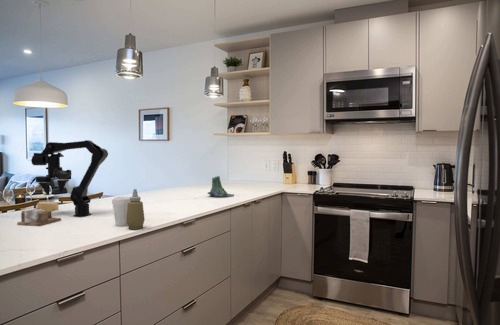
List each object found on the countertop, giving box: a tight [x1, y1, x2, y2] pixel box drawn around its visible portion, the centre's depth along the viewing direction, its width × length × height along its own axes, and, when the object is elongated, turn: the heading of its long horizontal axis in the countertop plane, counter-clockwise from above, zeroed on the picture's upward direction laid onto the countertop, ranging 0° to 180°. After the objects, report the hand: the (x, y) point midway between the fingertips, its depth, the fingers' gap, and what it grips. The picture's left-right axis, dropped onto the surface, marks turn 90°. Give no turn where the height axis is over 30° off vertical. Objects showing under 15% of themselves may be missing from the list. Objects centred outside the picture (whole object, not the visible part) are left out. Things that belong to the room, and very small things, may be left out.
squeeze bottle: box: [126, 188, 145, 230], centre depth 154 cm, size 8×8×18 cm
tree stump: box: [206, 175, 235, 199], centre depth 257 cm, size 18×20×18 cm
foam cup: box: [111, 196, 131, 227], centre depth 161 cm, size 10×9×13 cm
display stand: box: [16, 208, 62, 227], centre depth 166 cm, size 13×13×7 cm
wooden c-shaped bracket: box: [21, 201, 60, 214], centre depth 167 cm, size 11×11×4 cm
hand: (54, 193), depth 183 cm, fingers open, 9 cm apart
